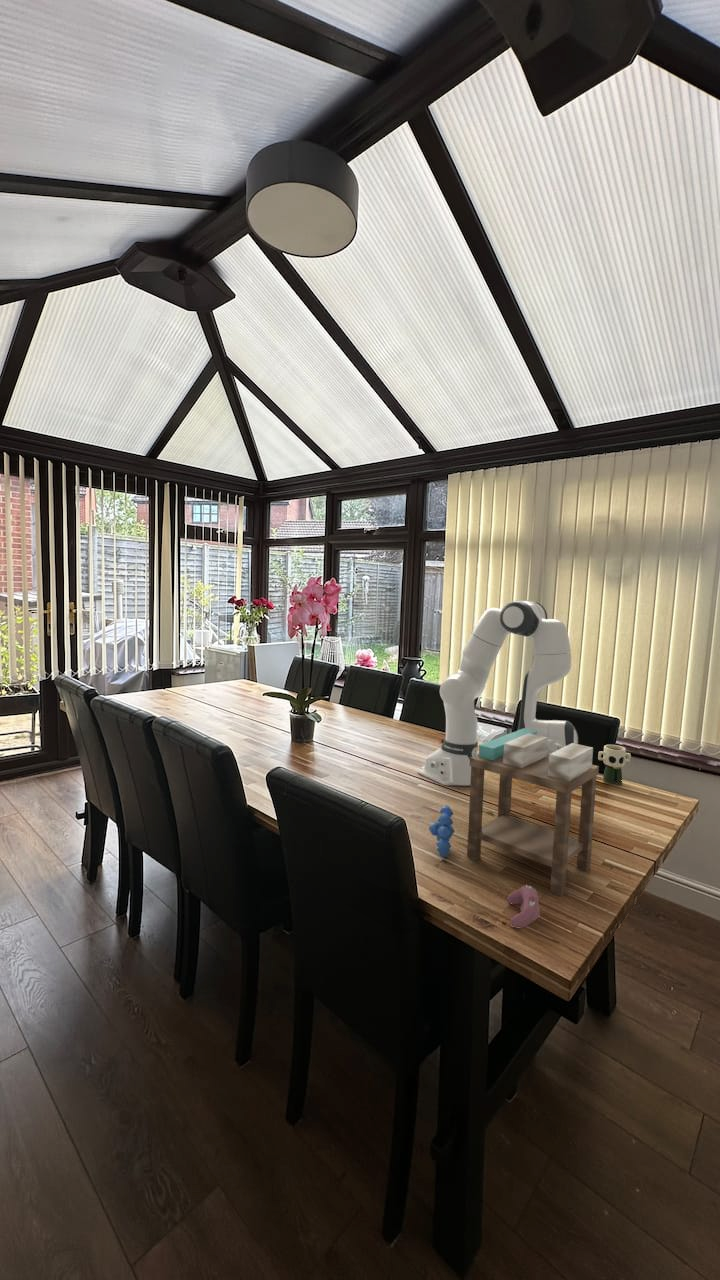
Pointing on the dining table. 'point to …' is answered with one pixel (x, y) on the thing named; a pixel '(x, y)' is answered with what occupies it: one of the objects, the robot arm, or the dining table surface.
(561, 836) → the shelf
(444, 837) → the grapes
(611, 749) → the character mug
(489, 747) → the module bar
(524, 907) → the video game controller
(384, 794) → the dining table surface
